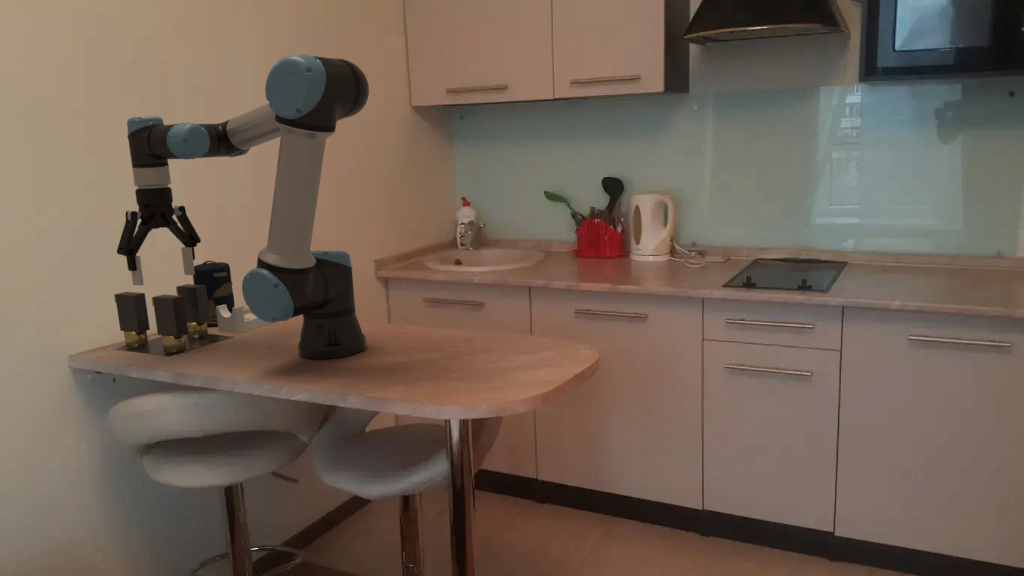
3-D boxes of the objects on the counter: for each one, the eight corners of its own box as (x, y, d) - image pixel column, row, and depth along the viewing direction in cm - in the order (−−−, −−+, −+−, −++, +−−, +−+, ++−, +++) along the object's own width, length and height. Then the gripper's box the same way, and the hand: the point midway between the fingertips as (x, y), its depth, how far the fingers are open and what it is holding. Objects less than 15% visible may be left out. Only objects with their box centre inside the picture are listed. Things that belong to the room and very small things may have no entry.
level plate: (235, 339, 197) (234, 331, 196) (169, 359, 180) (168, 350, 180) (182, 334, 206) (180, 325, 206) (115, 352, 190) (113, 343, 190)
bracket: (238, 337, 201) (234, 308, 199) (219, 335, 204) (215, 306, 203) (276, 326, 212) (273, 298, 210) (258, 324, 215) (255, 296, 214)
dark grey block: (194, 348, 185) (187, 295, 183) (175, 353, 181) (168, 299, 179) (173, 345, 189) (166, 293, 187) (155, 351, 185) (147, 297, 183)
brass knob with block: (155, 343, 192) (148, 292, 190) (137, 348, 188) (129, 296, 186) (136, 341, 196) (129, 290, 194) (117, 346, 192) (110, 294, 190)
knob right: (215, 334, 199) (209, 284, 197) (198, 338, 195) (192, 288, 193) (195, 332, 203) (189, 283, 201) (179, 336, 199) (172, 286, 196)
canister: (224, 320, 221) (217, 256, 217) (243, 324, 215) (236, 258, 211) (192, 328, 213) (184, 262, 210) (211, 331, 207) (202, 264, 204)
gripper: (188, 183, 191) (198, 270, 195) (90, 191, 170) (104, 288, 173) (209, 182, 187) (219, 271, 191) (112, 191, 166) (125, 290, 170)
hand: (164, 279), depth 182 cm, fingers open, 13 cm apart
